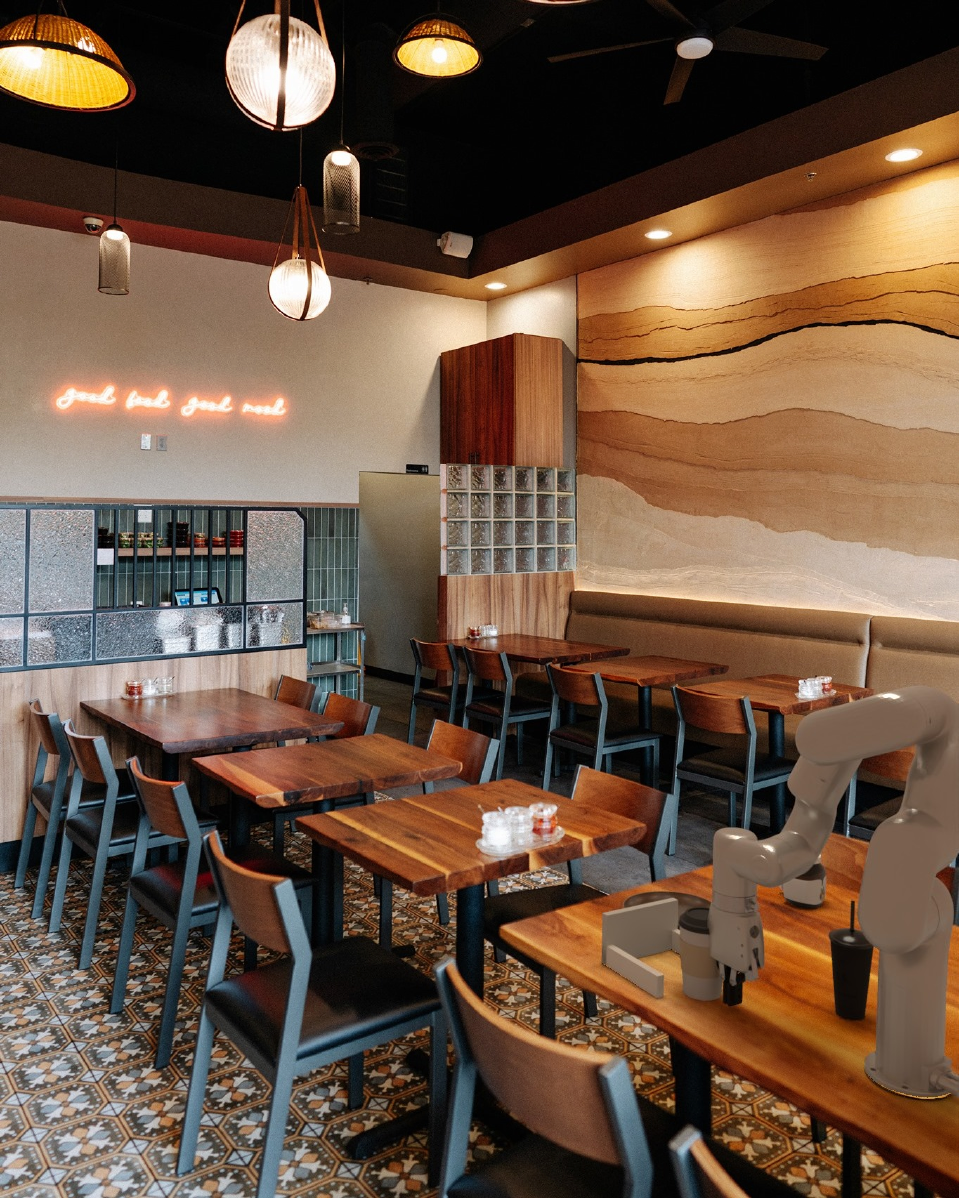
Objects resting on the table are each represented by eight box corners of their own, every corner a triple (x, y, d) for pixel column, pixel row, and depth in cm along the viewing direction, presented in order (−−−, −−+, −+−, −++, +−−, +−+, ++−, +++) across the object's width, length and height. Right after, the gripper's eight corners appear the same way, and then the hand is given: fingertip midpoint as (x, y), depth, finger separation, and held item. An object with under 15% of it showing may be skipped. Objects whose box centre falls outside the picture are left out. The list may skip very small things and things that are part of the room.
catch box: (730, 977, 176) (731, 925, 176) (657, 998, 167) (658, 943, 167) (672, 945, 191) (673, 897, 190) (601, 963, 182) (602, 912, 181)
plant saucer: (603, 920, 204) (603, 905, 204) (656, 897, 219) (657, 883, 219) (685, 948, 190) (685, 932, 190) (736, 921, 205) (736, 906, 205)
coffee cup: (666, 986, 172) (668, 906, 172) (705, 977, 176) (707, 899, 176) (698, 1007, 164) (700, 923, 163) (738, 997, 168) (740, 915, 167)
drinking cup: (834, 999, 168) (837, 890, 167) (879, 1012, 163) (882, 900, 162) (820, 1015, 162) (823, 901, 161) (865, 1029, 157) (868, 912, 156)
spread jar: (809, 913, 209) (810, 862, 209) (763, 899, 218) (765, 850, 217) (834, 900, 217) (835, 851, 217) (790, 888, 226) (791, 840, 225)
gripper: (782, 910, 158) (780, 1016, 159) (719, 884, 171) (717, 982, 172) (750, 918, 155) (748, 1026, 155) (688, 890, 167) (687, 991, 168)
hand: (732, 1003), depth 164 cm, fingers closed
